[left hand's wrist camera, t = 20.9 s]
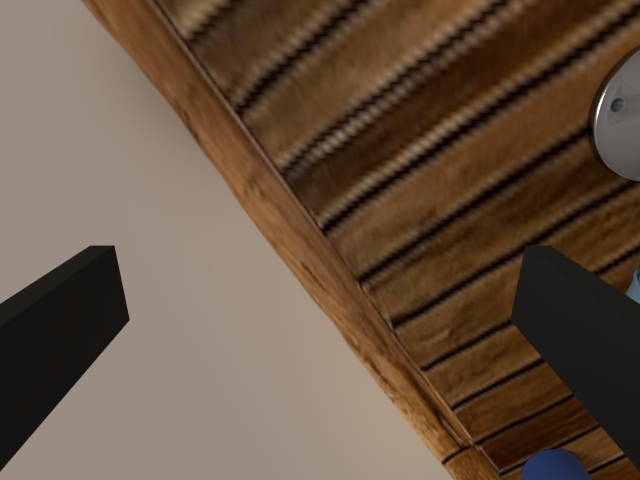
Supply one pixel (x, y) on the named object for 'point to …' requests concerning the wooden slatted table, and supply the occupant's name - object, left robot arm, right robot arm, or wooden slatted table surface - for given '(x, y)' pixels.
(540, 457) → the cylinder
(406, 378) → the wooden slatted table surface
